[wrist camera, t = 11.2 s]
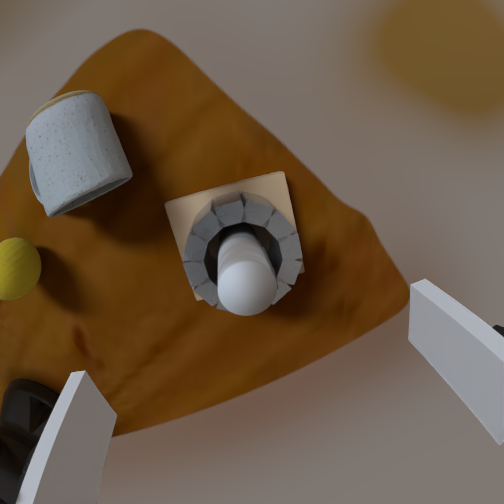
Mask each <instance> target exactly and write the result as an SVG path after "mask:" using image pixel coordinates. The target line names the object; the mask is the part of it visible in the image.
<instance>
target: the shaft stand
mask: <svg viewBox="0 0 504 504" xmlns="http://www.w3.org/2000/svg"><path fill="white" fill-rule="evenodd" d="M234 191H238V193H239V195H241V191H245V192H249V193H253V194H256V195H260V196H263V197H264V198H265V199H268V200H269V201H270V202H271V204H272V205H273V206H274V207H275V208H276V209H277V210H278V211H279V212H280V213H281V214H282V215H283V216H284V217H285V218H286V219H287V220H288V221H289V222H290V223H291V225H292V226H293V227H294V228H295V231H296V232H297V229H296V224H295V220H294V215H293V210H292V206H291V201H290V196H289V192H288V187H287V183H286V178H285V174H284V172H282V171H279V172H274V173H270V174H266V175H262V176H258V177H254V178H250V179H246V180H242V181H238V182H234V183H231V184H227V185H223V186H219V187H216V188H212V189H208V190H205V191H201V192H198V193H194V194H191V195H187V196H184V197H181V198H177V199H174V200H171V201H167V202H166V203H165V204H164V205H165V208H166V212H167V215H168V218H169V221H170V224H171V227H172V231H173V234H174V237H175V240H176V243H177V246H178V249H179V252H180V255H181V258H182V261H183V262H184V260H183V255H184V251H185V246H186V242H187V238H188V234H189V231H190V228H191V226H192V223H193V221H194V218H195V217H196V215H197V213H198V212H199V211H200V210H201V209H202V208H203V207H204V206H205V205H206V204H207V203H208V202H209V201H210V200H211V199H213V200H214V201H215V198H216V196H219V195H223V194H226V193H230V192H234ZM270 241H271V237H270V232H269V231H268V230H267V229H266V228H265V227H262V226H259V225H255V224H251V223H247V222H241V223H237V224H234V225H230V226H226V227H223V228H222V229H221V230H220V231H219V232H218V233H217V234H216V235H215V236H214V237H213V238H212V239H211V240H210V241H209V242H208V246H209V250H210V253H211V256H212V257H214V258H215V259H216V260H217V261H218V296H219V299H220V301H221V303H222V304H223V306H224V307H225V308H226V309H227V310H229V311H230V312H232V313H235V314H238V315H243V316H250V315H255V314H258V313H260V312H262V311H264V310H265V309H267V308H268V307H269V306H270V305H271V304H272V302H273V301H274V299H275V297H276V293H277V289H279V288H278V284H277V279H276V275H275V272H274V269H273V267H272V265H271V262H270V260H269V258H268V256H267V251H268V248H269V245H270ZM300 259H301V261H302V265H301V267H300V270H299V273H298V274H300V273H303V272H305V270H304V265H303V259H302V258H300ZM192 289H193V292H194V287H192ZM194 295H195V297H196V300H197V301H198V300H202V299H203V298H202V297H200V296H199V295H198V294H197V293H196V292H194Z"/></svg>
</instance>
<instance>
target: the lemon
mask: <svg viewBox="0 0 504 504" xmlns="http://www.w3.org/2000/svg"><path fill="white" fill-rule="evenodd" d="M40 273H41V259H40V255H39V253H38V251H37V249H36V248H35V246H34V245H33V244H32V243H30V242H29V241H28V240H25V239H23V238H10V239H7V240H4V241H2V242H1V243H0V299H1V300H4V301H13V300H16V299H19V298H22V297H24V296H25V295H26V294H28V293H29V292H30V291H31V290H32V289H33V288H34V287H35V285H36V283H37V281H38V280H39V277H40Z"/></svg>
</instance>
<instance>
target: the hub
mask: <svg viewBox="0 0 504 504" xmlns="http://www.w3.org/2000/svg"><path fill="white" fill-rule="evenodd" d="M241 222H247V223H251V224H255V225H259V226H262V227H265V228H266V229H267V230H268V231H269V232H270V237H271V241H270V245H269V248H268V251H267V256H268V258H269V260H270V262H271V265H272V267H273V269H274V272H275V275H276V279H277V284H278V288H279V289H277V293H276V297H275V299H274V301H273V302H272V304H273V305H274V304H275V303H276V302H277V301H278V300H279V299H281V298H282V297H283V296H284V295H285V294H286V293H287V292H288V291H290V290H291V287H290V285H289V284H292V285H294V284H295V281H296V278H297V276H298V273H299V270H300V267H301V265H302V261H301V259H300V258H303V256H302V251H301V246H300V241H299V236H298V233H297V232H296V231H295V228H294V227H293V226H292V225H291V223H290V222H289V221H288V220H287V219H286V218H285V217H284V216H283V215H282V214H281V213H280V212H279V211H278V210H277V209H276V208H275V207H274V206H273V205H272V204H271V202H270V201H269V200H268V199H265V198H264V197H263V196H260V195H256V194H253V193H249V192H245V191H241V195H239V193H238V191H234V192H230V193H226V194H223V195H219V196H216V198H215V201H214V200H213V199H211V200H210V201H209V202H208V203H207V204H206V205H205V206H204V207H203V208H202V209H201V210H200V211H199V212H198V213H197V215H196V217H195V218H194V221H193V223H192V226H191V228H190V231H189V234H188V238H187V242H186V246H185V251H184V255H183V260H184V262H183V266H184V268H185V271H186V274H187V277H188V280H189V283H190V285H191V287H194V292H196V293H197V294H198V295H199V296H200V297H202V298H203V299H204V300H205V301H206V302H208V303H209V304H210V305H211V306H212V307H213V306H214V305H215V304H216V303H217V309H221V310H226V311H229V310H227V309H226V308H225V307H224V306H223V304H222V303H221V301H220V299H219V296H218V261H217V260H216V259H215V258H214V257H212V256H211V253H210V250H209V246H208V242H209V241H210V240H211V239H212V238H213V237H214V236H215V235H216V234H217V233H218V232H219V231H220V230H221V229H222V228H223V227H226V226H230V225H234V224H237V223H241Z"/></svg>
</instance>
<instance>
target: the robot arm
mask: <svg viewBox="0 0 504 504" xmlns="http://www.w3.org/2000/svg"><path fill="white" fill-rule="evenodd" d="M408 340H409V341H410V342H411V343H412V344H413V345H414V346H415V348H416V349H417V350H418V351H419V352H420V353H421V354H422V355H423V356H424V357H425V359H426V360H427V361H428V362H429V363H430V364H431V365H432V366H433V367H434V368H435V370H436V371H437V372H438V373H439V374H440V375H441V376H442V378H443V379H444V380H445V381H446V382H447V383H448V384H449V385H450V386H451V388H452V389H453V390H454V391H455V392H456V394H457V395H458V396H459V397H460V398H461V399H462V401H463V402H464V403H465V404H466V405H467V406H468V408H469V409H470V410H471V411H472V412H473V414H474V415H475V416H476V417H477V418H478V420H479V421H480V422H481V423H482V424H483V426H484V427H485V428H486V429H487V431H488V432H489V433H490V434H491V436H492V437H493V438H494V439H495V441H496V442H497V443H498V444H499V445H500V444H502V443H503V442H504V327H501V326H499V325H495V326H494V327H490V326H489V325H487V324H486V323H485V322H484V321H483V320H481V319H480V318H479V317H477V316H476V315H475V314H473V313H472V312H471V311H469V310H468V309H467V308H465V307H464V306H463V305H461V304H460V303H458V302H457V301H456V300H454V299H453V298H452V297H450V296H449V295H448V294H446V293H445V292H443V291H442V290H441V289H439V288H438V287H436V286H435V285H433V284H432V283H430V282H429V281H428V280H426V279H424V280H421V281H419V282H416V283H414V284H411V285H410V320H409V338H408ZM116 418H117V415H116V413H115V412H114V411H113V409H112V408H111V407H110V405H109V404H108V403H107V401H106V400H105V398H104V397H103V396H102V394H101V393H100V391H99V390H98V389H97V387H96V386H95V384H94V383H93V381H92V380H91V378H90V377H89V375H88V374H87V372H86V371H79V372H72V373H71V375H70V377H69V379H68V381H67V382H66V384H65V386H64V388H63V390H62V392H61V394H60V396H59V395H57V394H56V393H54V392H53V391H51V390H49V389H47V388H46V387H44V386H42V385H40V384H37V383H35V382H32V381H29V380H24V379H17V380H14V381H12V382H11V383H10V384H9V386H8V387H7V389H6V390H5V392H4V395H3V401H2V406H1V411H0V504H96V503H97V498H98V493H99V488H100V483H101V478H102V474H103V469H104V465H105V461H106V457H107V453H108V448H109V444H110V440H111V437H112V433H113V429H114V425H115V422H116Z"/></svg>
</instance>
